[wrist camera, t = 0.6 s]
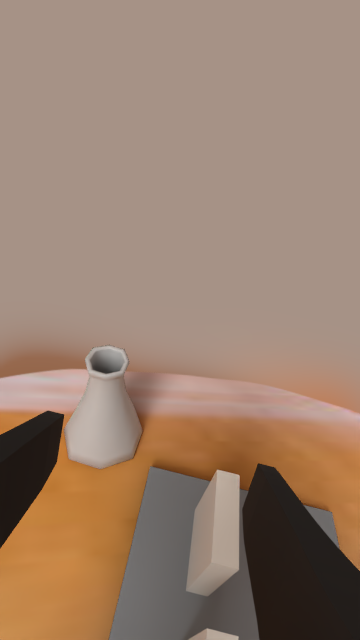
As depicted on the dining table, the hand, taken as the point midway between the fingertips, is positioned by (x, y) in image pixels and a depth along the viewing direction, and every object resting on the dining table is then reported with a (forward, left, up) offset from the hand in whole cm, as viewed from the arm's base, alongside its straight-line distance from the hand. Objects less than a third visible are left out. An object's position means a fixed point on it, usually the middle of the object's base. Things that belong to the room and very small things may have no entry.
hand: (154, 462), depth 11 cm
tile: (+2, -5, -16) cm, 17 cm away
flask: (+10, +5, -17) cm, 20 cm away
